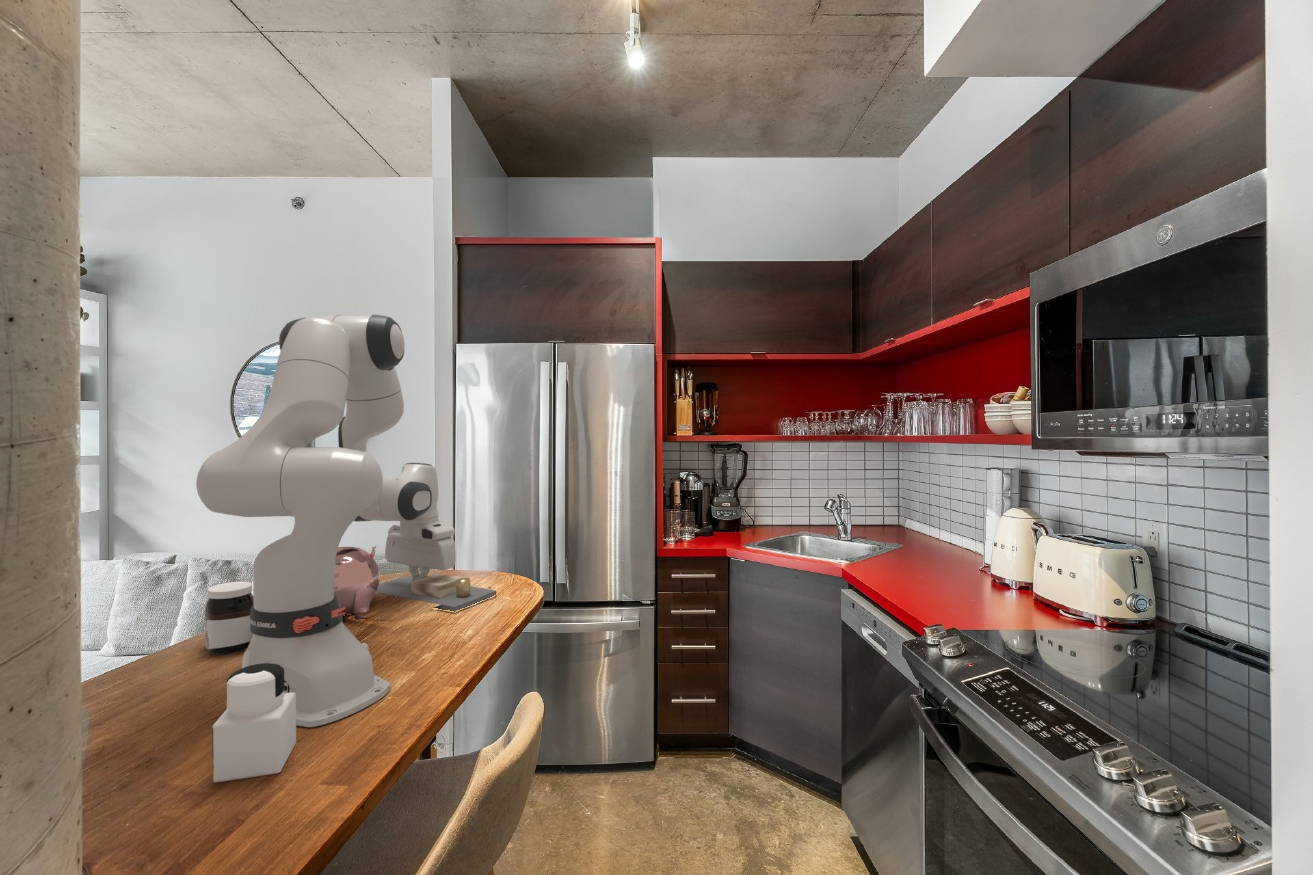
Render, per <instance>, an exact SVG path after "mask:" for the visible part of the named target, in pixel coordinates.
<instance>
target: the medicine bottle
mask: <svg viewBox="0 0 1313 875" xmlns="http://www.w3.org/2000/svg"><path fill="white" fill-rule="evenodd" d="M225 682H226V688H225V689H226V710H224V712H223V713H222V714H221V716H219V717H218V718H217V720H216V721H215V722H214V723H213V725H212V733H211V734H212V736H211V737H212V781H213V783H222V782H229V781H235V780H243V779H248V778H255V777H262V776H269V775H275V774H279V773H280V772H281V771H282V770H283V767H285V766H284V765H285V764H286V762H287V760H288V758H290V755H291V753H292V752H293V749H294V747H295V746H296V744H297V725H296V694H295V693H294V692H292V693H284V668H283V667H282V666H280V665H278V664H271V663H261V664H255V665H251V666H247V667H244V668H242V667H241V668H239V669H238V670H236V671H235V672H232V673H231V674H230V675H229V676H228V678H227V679H226V681H225Z"/></svg>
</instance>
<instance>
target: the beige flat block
mask: <svg viewBox="0 0 1313 875" xmlns="http://www.w3.org/2000/svg"><path fill="white" fill-rule="evenodd" d="M458 578H465V577H463V576H458V575H450V574H443V573H438V572H437V573H436V572H435V573H432V574H429V575H427V576H426V577H422V578H419V579H416V580H413V581H411V593H412V594H418V595H423V596H429V597H435V598H442V597H445V596H448V595H450V594H453V593H456V579H458Z"/></svg>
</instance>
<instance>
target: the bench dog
mask: <svg viewBox="0 0 1313 875" xmlns="http://www.w3.org/2000/svg"><path fill="white" fill-rule="evenodd" d="M470 586H471V578H470V577H464V578H458V579H456V597H457V598H467V597H470Z"/></svg>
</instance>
